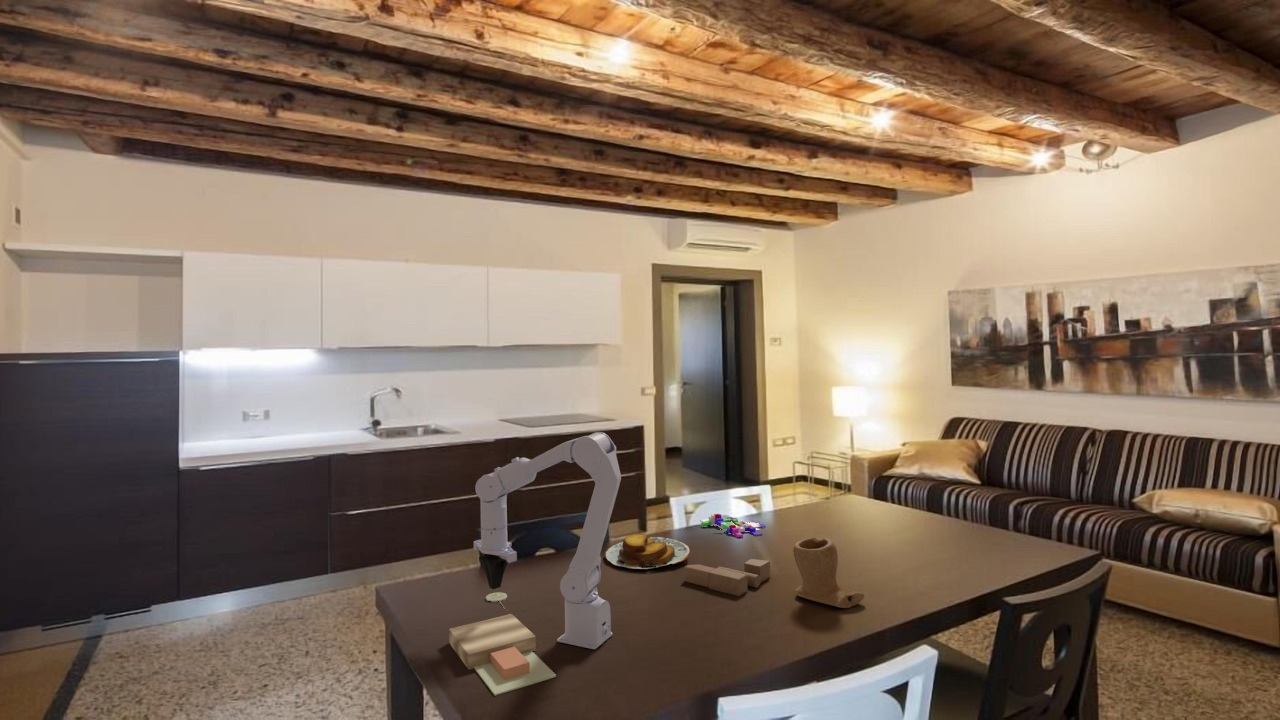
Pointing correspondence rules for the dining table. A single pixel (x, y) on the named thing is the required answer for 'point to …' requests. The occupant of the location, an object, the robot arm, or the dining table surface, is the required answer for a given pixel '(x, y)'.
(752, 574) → the wooden block set
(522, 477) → the robot arm
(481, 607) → the dining table surface
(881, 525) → the dining table surface
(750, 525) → the building block set
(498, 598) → the sign
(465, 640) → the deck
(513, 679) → the mat
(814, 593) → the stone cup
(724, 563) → the dining table surface
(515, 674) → the tile
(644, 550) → the food on plate
